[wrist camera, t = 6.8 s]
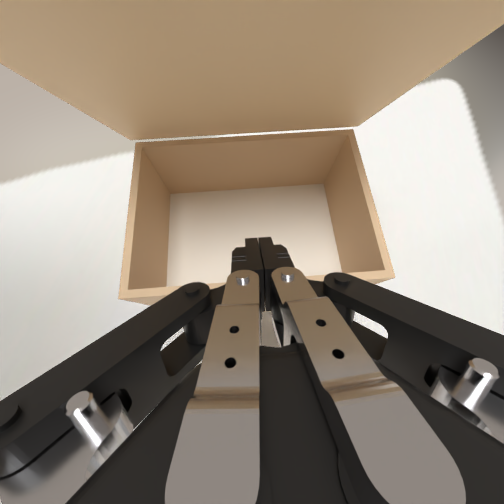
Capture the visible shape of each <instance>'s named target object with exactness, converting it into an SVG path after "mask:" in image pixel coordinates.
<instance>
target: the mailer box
mask: <svg viewBox="0 0 504 504" xmlns="http://www.w3.org/2000/svg"><path fill="white" fill-rule="evenodd" d="M258 237H271V238H272V241H273V244H274V245H277V244H281V245H283V246H284V247H286V248H287V251H288V254H289V255H290V257H291V260H292V262H293V264H294V266H295V268H296V269H299V270H300V271H301V272H302V273H303V274H304V276H305V277H306V279H309V280H315V281H324V277H325V276H326V275H327V274H329V273H333V272H342V273H347V274H350V275H352V276H355V277H357V278H360V279H362V280H365V281H367V282H370V283H372V284H377V283H380V282H383V281H386V280H389V279H392V278H395V274H394V271H393V267H392V264H391V260H390V257H389V253H388V250H387V246H386V243H385V239H384V236H383V232H382V229H381V225H380V222H379V218H378V215H377V211H376V208H375V204H374V201H373V197H372V194H371V190H370V187H369V183H368V180H367V176H366V173H365V169H364V166H363V162H362V159H361V155H360V152H359V148H358V145H357V141H356V138H355V134H354V131H353V129H350V130H333V131H317V132H301V133H284V134H268V135H252V136H235V137H219V138H203V139H186V140H170V141H154V142H137V143H136V144H135V153H134V162H133V171H132V180H131V189H130V198H129V207H128V216H127V225H126V234H125V243H124V252H123V261H122V270H121V279H120V288H119V297H118V299H121V300H126V301H131V302H136V303H141V304H146V305H153V304H155V303H156V302H158V301H159V300H161V299H162V298H164V297H166V296H167V295H169V294H170V293H172V292H174V291H175V290H177V289H178V288H180V287H181V286H183V285H185V284H188V283H192V282H202V283H205V284H207V285H208V286H209V288H210V289H214V288H217V287H220V286H222V285H224V284H226V281H227V277H228V276H229V275H230V274H231V262H232V251H233V250H234V249H235V248H236V247H245V238H258Z"/></svg>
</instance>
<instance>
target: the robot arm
mask: <svg viewBox="0 0 504 504" xmlns="http://www.w3.org/2000/svg"><path fill="white" fill-rule="evenodd" d="M264 300H265V302H264ZM265 307H266V311H272V325H273V328H274V332H275V335H276V338H277V342H278V345H279V348H274V347H266V346H261V319H262V311H265ZM355 312H357V313H359V314H361V315H363V316H365V317H367V318H369V319H371V320H373V321H375V322H377V323H379V324H381V325H382V326H383V327H384V328H385V329H386V330H387V332H388V339H387V338H385V337H383V336H381V335H379V334H377V333H375V332H373V331H372V330H370V329H368V328H366V327H364V326H362V325H360V324H359V323H357V322H355V321H353V318H354V313H355ZM182 327H183V328H184V332H183V333H182V334H181V335H180V336H179V337H177V338H176V339H175V340H174V341H173V342H171V343H170V344H169V345H168V346H166V347H165V348H164V349H163V350H162V351H160V350H161V347H162V345H163V344H164V342H165V341H166V340H167V339H169V338H170V337H171V336H172V335H174V334H175V333H176V332H177V331H179V330H180V329H181V328H182ZM202 359H203V360H202ZM201 360H202V363H201V364H199V365H198V366H196V365H197V364H198V363H199V362H200V361H201ZM195 366H196V367H195ZM194 367H195V368H194ZM151 411H152V412H151ZM150 412H151V413H150ZM149 413H150V414H149ZM148 414H149V415H148ZM147 415H148V416H147ZM146 416H147V417H146ZM145 417H146V418H145ZM144 418H145V419H144ZM143 419H144V420H143ZM142 420H143V421H142ZM141 421H142V422H141ZM140 422H141V423H140ZM139 423H140V424H139ZM138 424H139V425H138ZM137 425H138V426H137ZM136 426H137V428H136V429H135V430H134V431H133V429H134V428H135V427H136ZM0 499H1V502H2V504H504V335H501V334H499V333H496V332H494V331H491V330H489V329H486V328H484V327H481V326H479V325H476V324H474V323H471V322H469V321H466V320H463V319H461V318H458V317H456V316H453V315H451V314H448V313H446V312H443V311H441V310H438V309H436V308H433V307H431V306H428V305H426V304H423V303H420V302H418V301H415V300H413V299H410V298H408V297H405V296H403V295H400V294H398V293H395V292H393V291H390V290H388V289H385V288H383V287H380V286H377V285H375V284H372V283H370V282H367V281H365V280H362V279H360V278H357V277H355V276H352V275H350V274H347V273H342V272H333V273H329V274H327V275H326V276H325V277H324V281H315V280H309V279H306V277H305V276H304V274H303V273H302V272H301V271H300V270H299V269H296V268H295V266H294V264H293V262H292V260H291V257H290V255H289V254H288V251H287V248H286V247H284V246H283V245H281V244H277V245H274V244H273V241H272V238H271V237H258V238H245V247H236V248H235V249H234V250H233V251H232V262H231V274H230V275H229V276H228V277H227V281H226V284H224V285H222V286H220V287H217V288H214V289H210V288H209V286H208V285H207V284H205V283H202V282H192V283H188V284H185V285H183V286H181V287H180V288H178V289H177V290H175V291H174V292H172V293H170V294H169V295H167V296H166V297H164V298H162V299H161V300H159V301H158V302H156V303H155V304H153V305H151V306H150V307H148V308H147V309H145V310H144V311H142V312H140V313H139V314H137V315H136V316H134V317H132V318H131V319H129V320H128V321H126V322H125V323H123V324H121V325H120V326H118V327H117V328H115V329H114V330H112V331H110V332H109V333H107V334H106V335H104V336H102V337H101V338H99V339H98V340H96V341H95V342H93V343H91V344H90V345H88V346H87V347H85V348H84V349H82V350H80V351H79V352H77V353H76V354H74V355H73V356H71V357H69V358H68V359H66V360H65V361H63V362H61V363H60V364H58V365H57V366H55V367H54V368H52V369H50V370H49V371H47V372H46V373H44V374H43V375H41V376H39V377H38V378H36V379H35V380H33V381H31V382H30V383H28V384H27V385H25V386H24V387H22V388H20V389H19V390H17V391H16V392H14V393H13V394H11V395H9V396H8V397H6V398H5V399H3V400H1V401H0Z"/></svg>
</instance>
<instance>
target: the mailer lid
mask: <svg viewBox="0 0 504 504" xmlns="http://www.w3.org/2000/svg"><path fill="white" fill-rule="evenodd" d="M502 24H504V0H0V63H1V64H2V65H4V66H6V67H7V68H9V69H11V70H13V71H14V72H16V73H17V74H19V75H21V76H22V77H24V78H26V79H28V80H29V81H31V82H33V83H34V84H36V85H38V86H39V87H41V88H43V89H45V90H46V91H48V92H50V93H51V94H53V95H55V96H56V97H58V98H60V99H61V100H63V101H65V102H67V103H68V104H70V105H72V106H74V107H75V108H77V109H78V110H80V111H82V112H84V113H85V114H87V115H89V116H90V117H92V118H94V119H95V120H97V121H99V122H101V123H102V124H104V125H106V126H107V127H109V128H111V129H112V130H114V131H116V132H118V133H119V134H121V135H123V136H124V137H126V138H128V139H129V140H142V139H158V138H174V137H191V136H207V135H224V134H240V133H257V132H273V131H289V130H306V129H322V128H339V127H355V126H359V125H360V124H362V123H363V122H365V121H366V120H368V119H369V118H370V117H372V116H373V115H375V114H376V113H377V112H379V111H380V110H382V109H383V108H385V107H386V106H387V105H389V104H390V103H392V102H393V101H395V100H396V99H397V98H399V97H400V96H402V95H403V94H405V93H406V92H407V91H409V90H410V89H412V88H413V87H415V86H416V85H417V84H419V83H420V82H422V81H423V80H424V79H426V78H427V77H429V76H430V75H432V74H433V73H434V72H436V71H437V70H439V69H440V68H442V67H443V66H444V65H446V64H447V63H449V62H450V61H451V60H453V59H454V58H456V57H457V56H459V55H460V54H462V53H463V52H464V51H466V50H467V49H469V48H470V47H471V46H473V45H474V44H476V43H477V42H479V41H480V40H481V39H483V38H484V37H486V36H487V35H489V34H490V33H491V32H493V31H494V30H496V29H497V28H499V27H500V26H501V25H502Z"/></svg>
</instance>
